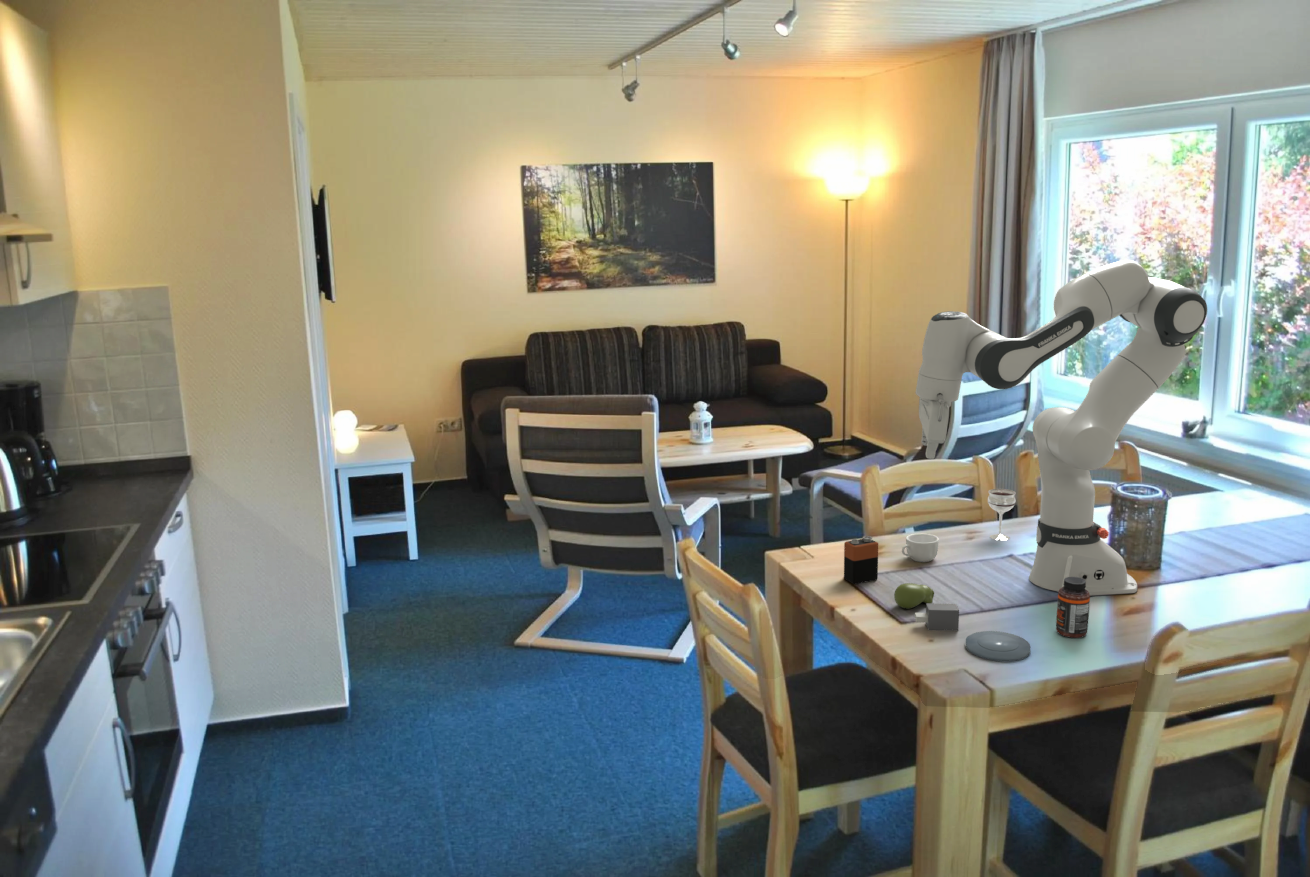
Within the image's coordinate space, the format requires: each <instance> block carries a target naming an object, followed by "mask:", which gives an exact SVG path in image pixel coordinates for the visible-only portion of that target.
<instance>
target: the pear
mask: <svg viewBox="0 0 1310 877" xmlns="http://www.w3.org/2000/svg"><path fill="white" fill-rule="evenodd" d="M934 595H935V591H934V590H933V589H932V588H931V586H928V585H927V584H917V583H913V582H911V583H910V582H908V583H907V582H906V583H902V584H900V585H898V586H897V588H896V589H895V590H894V595H893V596H894V601H895V603H896V604H897V606H898V607H900V608H902V609H905V608H906V609H909V610H910V609H913V608H916V607H917V606H919V605H921V604H922V603H924V604H926V603H932V604H933V601H934V600H933V599H934V597H935V596H934Z"/></svg>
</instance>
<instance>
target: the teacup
mask: <svg viewBox="0 0 1310 877" xmlns="http://www.w3.org/2000/svg"><path fill="white" fill-rule="evenodd" d="M939 542H940V538H939V537H938V536H937V535H934V534H932V533H921V532H919V533H918V532H917V533H912V534H908V535H907V536H906V537H905V544H904V545H903V547H902V548H901V554H903V555H904V556H906V557H909V558H910V559H912V561H915V562H917V563H930V562H931V561H932V560H934V559H935V558H936V556H937V555H938V551H939V550H938V549H939ZM905 550H906V552H905Z"/></svg>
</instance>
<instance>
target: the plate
mask: <svg viewBox="0 0 1310 877" xmlns="http://www.w3.org/2000/svg"><path fill="white" fill-rule="evenodd" d="M1031 646H1032V645H1031V644H1030V642H1029V641H1028V640H1026V639H1025V638H1024V637H1021V636H1020V635H1017V634H1014V633H1011V632H1005V631H997V630H982V631H976V632H973V633H971V634H969V635H967V637H966V638H965V648H966V650H967V651H968V652H969V653H970V654H972V655H974V656H976V657H978V658H980V659H985V660H989V661H994V662H1017V661H1021V660H1024V659H1027V658H1028V657H1029V656H1031V655H1030V654H1031V649H1032V648H1031Z"/></svg>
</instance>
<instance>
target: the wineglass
mask: <svg viewBox="0 0 1310 877" xmlns="http://www.w3.org/2000/svg"><path fill="white" fill-rule="evenodd" d="M987 491H988V494H989V495H988V497H987V504H988V505H989V507H990V508H991V509H992V510H993V511H995V512H997V514H998V515H999V516H998V517H999V518H998V520H999V521H998V528H999V531H998V533H994V534H991V535H989V538H991V540H995V541H1007V540H1010V539H1011V538H1010V536H1008V535H1006V534H1002V533H1001V532H1002V522H1003V515H1004V514H1005V513H1006V512H1009V511H1010V510H1011V509H1013V508H1014V506H1015V505H1016V497H1015V495H1016V491H1014V490H1011V489H1007V488H1006V489H1005V488H993V489H989V490H987Z"/></svg>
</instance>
